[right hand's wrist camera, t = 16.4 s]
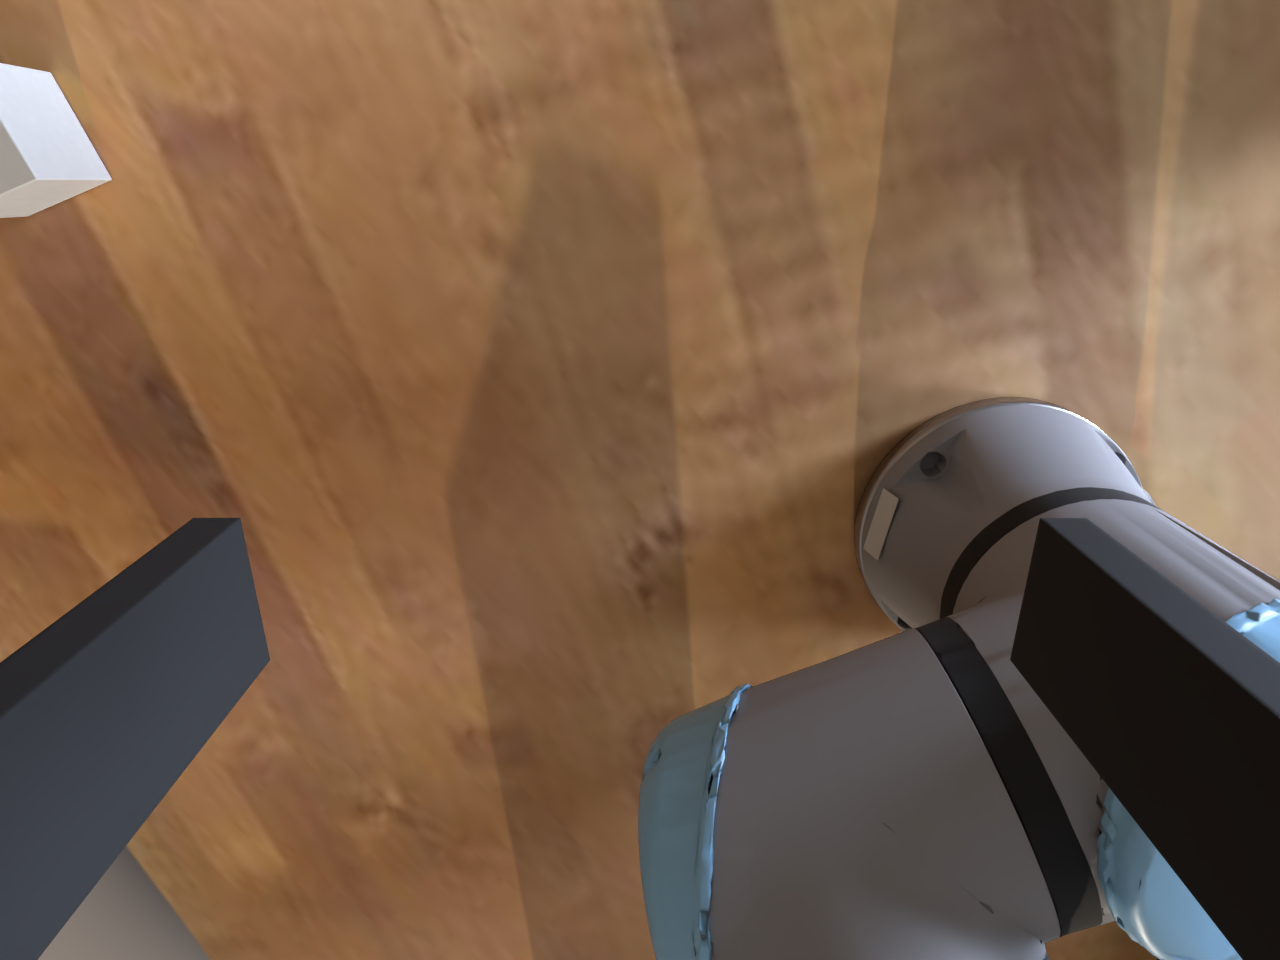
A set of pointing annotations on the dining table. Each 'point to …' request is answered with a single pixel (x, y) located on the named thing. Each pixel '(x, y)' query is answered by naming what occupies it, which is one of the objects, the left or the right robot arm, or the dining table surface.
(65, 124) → the pale grey block
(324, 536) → the dining table surface
